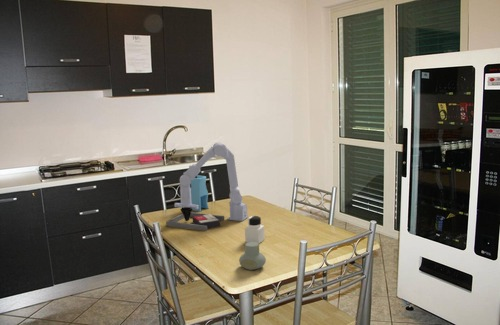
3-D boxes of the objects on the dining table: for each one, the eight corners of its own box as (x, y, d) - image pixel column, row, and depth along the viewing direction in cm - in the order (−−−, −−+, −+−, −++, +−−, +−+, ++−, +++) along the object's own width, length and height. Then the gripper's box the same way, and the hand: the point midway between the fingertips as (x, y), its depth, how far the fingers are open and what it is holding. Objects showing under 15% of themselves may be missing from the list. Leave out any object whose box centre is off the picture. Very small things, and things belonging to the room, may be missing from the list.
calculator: (211, 213, 258) (219, 219, 244) (211, 220, 258) (220, 226, 244) (192, 216, 253) (200, 222, 240) (192, 223, 254) (200, 230, 240)
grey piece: (224, 220, 255) (224, 215, 255) (206, 231, 238) (206, 226, 237) (186, 215, 266) (186, 211, 265) (166, 226, 248) (166, 221, 248)
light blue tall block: (199, 206, 285) (197, 175, 281) (208, 208, 280) (207, 176, 277) (190, 209, 278) (188, 177, 275) (200, 211, 274) (198, 178, 270)
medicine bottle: (264, 239, 222) (264, 215, 220) (258, 244, 216) (258, 219, 214) (251, 237, 225) (250, 214, 223) (245, 242, 219) (244, 218, 217)
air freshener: (236, 269, 188) (235, 246, 186) (244, 261, 195) (243, 239, 194) (261, 272, 184) (261, 248, 182) (268, 264, 192) (267, 242, 190)
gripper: (170, 197, 251) (172, 221, 253) (193, 199, 245) (194, 223, 247) (177, 194, 257) (179, 217, 260) (200, 196, 251) (201, 220, 254)
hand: (187, 220), depth 254 cm, fingers closed
